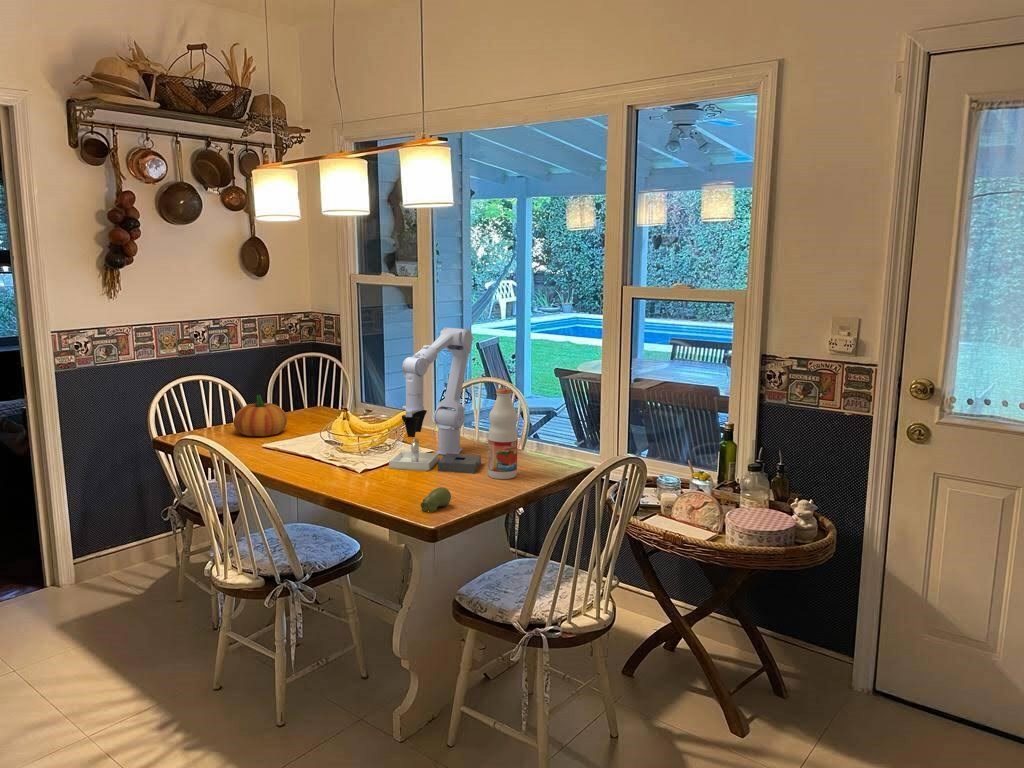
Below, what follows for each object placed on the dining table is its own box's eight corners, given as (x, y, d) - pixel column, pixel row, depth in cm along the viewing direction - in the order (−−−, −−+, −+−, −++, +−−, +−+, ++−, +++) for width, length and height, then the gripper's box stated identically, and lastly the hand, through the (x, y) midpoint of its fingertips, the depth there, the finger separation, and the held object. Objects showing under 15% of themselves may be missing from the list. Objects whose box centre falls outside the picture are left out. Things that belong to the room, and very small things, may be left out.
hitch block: (446, 461, 263) (446, 453, 263) (481, 463, 262) (481, 455, 261) (438, 471, 252) (438, 462, 251) (474, 473, 250) (474, 464, 249)
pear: (454, 486, 216) (430, 501, 208) (455, 504, 218) (432, 518, 210) (438, 482, 219) (415, 496, 212) (440, 500, 221) (417, 514, 213)
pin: (412, 461, 260) (412, 438, 259) (419, 462, 260) (419, 438, 258) (410, 463, 258) (410, 440, 256) (417, 464, 257) (417, 440, 256)
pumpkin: (278, 440, 288) (277, 400, 286) (226, 438, 288) (225, 399, 286) (293, 428, 307) (292, 391, 305) (244, 427, 307) (243, 390, 305)
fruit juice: (502, 470, 255) (504, 385, 250) (522, 476, 248) (525, 389, 244) (481, 475, 248) (482, 388, 244) (501, 481, 242) (503, 392, 237)
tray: (400, 458, 266) (400, 451, 266) (438, 460, 264) (438, 453, 264) (389, 468, 253) (389, 460, 253) (428, 471, 251) (428, 463, 251)
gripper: (408, 389, 262) (408, 429, 265) (396, 397, 248) (396, 438, 251) (429, 390, 262) (428, 430, 264) (417, 398, 247) (417, 439, 250)
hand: (414, 434), depth 257 cm, fingers open, 7 cm apart
